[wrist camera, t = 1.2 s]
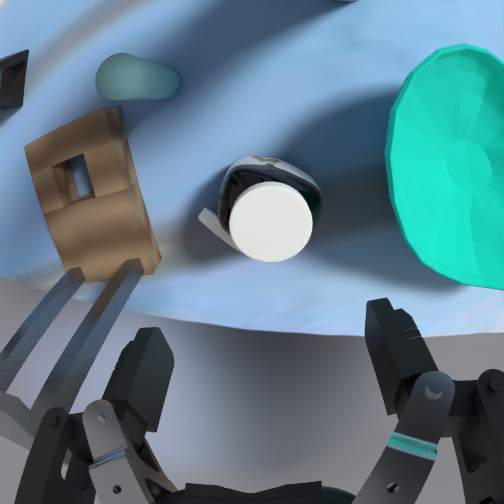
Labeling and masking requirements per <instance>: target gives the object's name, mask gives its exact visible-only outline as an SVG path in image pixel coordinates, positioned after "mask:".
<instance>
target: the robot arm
mask: <svg viewBox="0 0 504 504" xmlns="http://www.w3.org/2000/svg"><path fill="white" fill-rule="evenodd" d="M334 1H340V2H352V1H356V0H334ZM365 340H366V345H367V348H368V351H369V354H370V357H371V360H372V364H373V367H374V370H375V373H376V376H377V380H378V383H379V387H380V390H381V393H382V397H383V400H384V404H385V408H386V411H387V415H392V414H396V413H397V417H398V420H399V422H398V424H397V426H396V428H395V430H394V432H393V434H392V436H391V438H390V440H389V442H388V444H387V446H386V447H385V450H384V451H383V453H382V455H381V457H380V458H379V460H378V462H377V464H376V465H375V467H374V469H373V471H372V472H371V474H370V476H369V477H368V479H367V480H366V482H365V484H364V485H363V487H362V488H361V490H360V491H359V493H358V494H357V496H355V495H353V494H351V493H349V492H346V491H344V490H341V489H338V488H332V487H325V486H322V484H321V481H316V482H307V483H298V484H287V485H283V486H280V487H276V488H272V489H268V490H265V491H261V492H257V493H244V492H240V491H236V490H232V489H228V488H224V487H221V486H217V485H203V484H192V483H186V487H185V489H184V490H180V491H178V490H177V488H176V487H175V486H174V484H173V483H172V482H171V481H170V480H169V479H168V478H167V476H166V475H165V474H164V472H163V470H162V469H161V467H160V465H159V463H158V461H157V459H156V457H155V456H154V454H153V452H152V450H151V448H150V446H149V444H148V442H147V440H146V439H145V438H144V437H145V434H146V431H148V432H157V428H158V424H159V420H160V416H161V413H162V409H163V405H164V401H165V397H166V394H167V390H168V386H169V382H170V378H171V375H172V371H173V368H174V356H173V353H172V350H171V349H170V347H169V345H168V343H167V341H166V339H165V338H164V335H163V334H162V332H161V330H160V329H159V328H158V327H151V328H140V329H139V330H138V332H137V334H136V337H135V339H134V341H130V342H129V343H128V344H127V345H126V347H125V348H124V349H123V350H122V352H121V355H120V357H119V359H118V362H117V363H116V366H115V370H113V373H112V375H111V377H110V380H109V382H108V385H107V387H106V389H105V392H104V394H103V397H102V399H101V400H96V401H93V402H92V403H90V404H89V405H88V406H87V407H86V409H85V410H84V412H82V413H76V414H68V413H67V412H66V411H65V410H64V409H63V408H61V407H53V408H51V409H49V410H48V411H47V412H46V413H45V414H44V416H43V418H42V421H41V423H40V426H39V428H38V431H37V433H36V436H35V439H34V441H33V444H32V447H31V450H30V453H29V456H28V458H27V461H26V464H25V468H24V471H23V474H22V477H21V481H20V484H19V488H18V491H17V495H16V499H15V503H14V504H94V500H95V494H96V493H97V495H98V498H99V500H100V503H101V504H414V503H415V501H416V500H417V498H418V496H419V494H420V492H421V490H422V488H423V486H424V484H425V482H426V480H427V477H428V475H429V473H430V471H431V469H432V466H433V464H434V462H435V459H436V456H437V451H436V448H437V445H438V442H439V439H440V438H441V437H452V439H453V443H454V448H455V451H456V456H457V460H458V464H459V469H460V473H461V479H462V483H463V489H464V495H465V502H466V504H504V372H502V371H500V370H497V369H490V370H487V371H485V372H483V373H482V374H481V375H480V377H479V379H478V380H470V381H468V380H467V381H455V380H452V379H451V378H450V377H449V376H448V375H447V374H445V373H443V372H440V371H439V370H438V368H437V366H436V364H435V362H434V360H433V358H432V356H431V354H430V352H429V350H428V348H427V346H426V344H425V342H424V340H423V338H422V337H421V334H420V332H419V330H418V329H417V326H416V324H415V322H414V320H413V318H412V317H411V316H410V315H409V314H408V313H407V312H405V311H404V310H403V309H402V308H401V309H397V310H394V309H393V307H392V305H391V303H390V301H389V300H388V298H381V299H376V300H371V301H368V302H367V306H366V320H365ZM67 450H68V451H69V452H70V453H72V455H71V459H70V462H69V466H68V469H67V473H66V477H65V480H64V479H63V478H62V475H61V468H62V464H63V461H64V458H65V454H66V451H67Z"/></svg>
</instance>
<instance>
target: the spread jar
mask: <svg viewBox="0 0 504 504" xmlns="http://www.w3.org/2000/svg"><path fill="white" fill-rule="evenodd" d="M321 207H322V194H321V191H320V189H319V187H318V185H317V184H316V182H315V181H314V180H313V179H312V178H311V177H310V176H309V175H308V174H307V173H305V172H304V171H302V170H301V169H299V168H297V167H296V166H294V165H292V164H289V163H287V162H285V161H282V160H279V159H275V158H271V157H264V156H246V157H241V158H239V159H237V160H235V161H234V162H233V163H232V165H231V166H230V168H229V169H228V171H227V173H226V175H225V177H224V180H223V182H222V185H221V188H220V192H219V197H218V205H217V215H216V214H215V213H213V212H212V211H211V210H209V209H207V208H204V209H203V210H202V212H201V213H200V214H199V216H198V219H199V220H200V221H201V222H202V223H203V224H204V225H205V226H206V227H207V228H209V229H210V230H211V231H212V232H213V233H215V234H216V235H217V236H218V237H220V238H221V239H222V240H223V241H225V242H226V243H228V244H229V245H230V246H232V247H233V248H235V249H236V250H238V251H239V252H241V253H243V254H245V255H247V256H248V257H250V258H252V259H255V260H258V261H262V262H279V261H284V260H286V259H289V258H291V257H293V256H294V255H296V254H297V253H298V252H300V251H301V250H302V249H303V248H304V246H305V245H306V244H307V242H308V240H309V238H310V237H311V235H312V234H313V232H314V230H315V228H316V226H317V223H318V220H319V217H320V213H321Z"/></svg>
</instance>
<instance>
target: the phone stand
mask: <svg viewBox="0 0 504 504" xmlns="http://www.w3.org/2000/svg"><path fill="white" fill-rule="evenodd" d="M28 54H29V50H28V49H27V50H24V51H21V52H18V53H15V54H12V55H10V56H7V57H4V58H2V59H0V70H1V69H3V72H2V81H1V89H0V110H4V109H9V108H14V107H19V106H22V105H23V96H24V85H25V78H24V77H25V76H26V68H27V61H28Z"/></svg>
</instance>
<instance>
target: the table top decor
mask: <svg viewBox="0 0 504 504" xmlns="http://www.w3.org/2000/svg"><path fill="white" fill-rule="evenodd" d="M384 157H385V164H386V171H387V179H388V188H389V196H390V200H391V204H392V207H393V209H394V212H395V215H396V218H397V221H398V224H399V227H400V230H401V233H402V236H403V239H404V241H405V242H406V243H407V245H408V246H409V248H410V249H411V250H412V252H413V253H414V255H415V256H416V258H417V259H418V261H419V262H420V263H422V264H423V265H425V266H426V267H428V268H429V269H431V270H433V271H434V272H436V273H437V274H439V275H442V276H444V277H446V278H449V279H451V280H453V281H456V282H458V283H460V284H465V285H471V286H477V287H484V288H491V289H498V290H504V62H503V61H502V60H500V59H499V58H498V57H496V56H495V55H494V54H493V53H491V52H490V51H489V50H487V49H483V48H480V47H476V46H473V45H469V44H465V43H462V44H458V45H453V46H449V47H445V48H441V49H437V50H436V51H434V52H433V53H432V54H431V55H430V56H428V57H427V58H426V59H425V60H424V61H423V62H421V63H420V64H419V65H418V66H417V67H416V68H414V69H413V70H412V71H411V72H410V73H409V75H408V76H407V78H406V79H405V81H404V84H403V86H402V88H401V90H400V92H399V94H398V96H397V98H396V100H395V102H394V104H393V106H392V108H391V110H390V112H389V119H388V128H387V135H386V143H385V150H384Z"/></svg>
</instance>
